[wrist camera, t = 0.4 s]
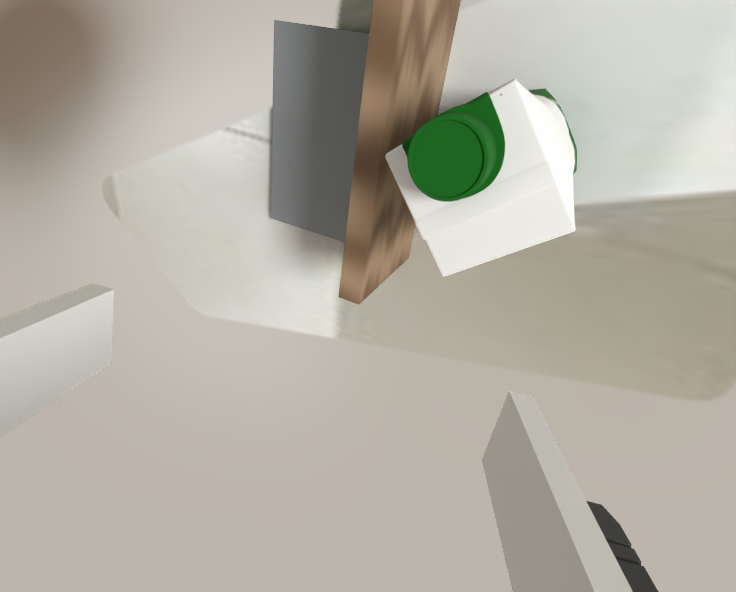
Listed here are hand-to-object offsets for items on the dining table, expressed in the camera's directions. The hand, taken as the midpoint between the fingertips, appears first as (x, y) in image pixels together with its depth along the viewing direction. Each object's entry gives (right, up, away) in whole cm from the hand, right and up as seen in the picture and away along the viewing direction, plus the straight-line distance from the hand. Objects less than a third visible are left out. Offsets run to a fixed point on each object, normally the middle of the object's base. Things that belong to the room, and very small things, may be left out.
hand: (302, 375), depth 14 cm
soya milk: (+15, +15, +23) cm, 32 cm away
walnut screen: (+7, +18, +26) cm, 32 cm away
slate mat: (-2, +19, +30) cm, 36 cm away
